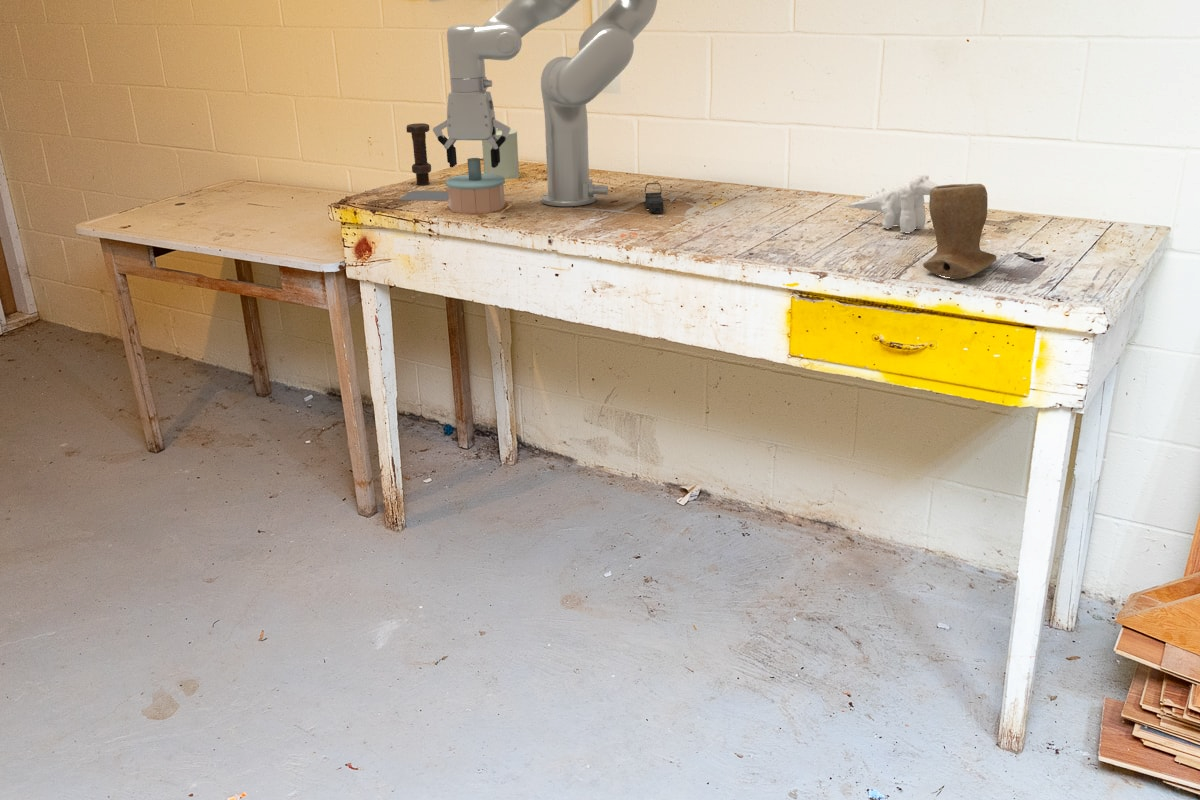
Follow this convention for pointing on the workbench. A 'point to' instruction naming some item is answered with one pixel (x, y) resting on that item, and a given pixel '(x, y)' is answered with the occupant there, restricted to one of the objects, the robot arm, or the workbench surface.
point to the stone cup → (958, 230)
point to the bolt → (420, 152)
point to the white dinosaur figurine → (901, 204)
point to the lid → (475, 178)
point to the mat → (426, 196)
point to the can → (503, 156)
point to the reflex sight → (653, 201)
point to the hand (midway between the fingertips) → (474, 166)
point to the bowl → (476, 200)
